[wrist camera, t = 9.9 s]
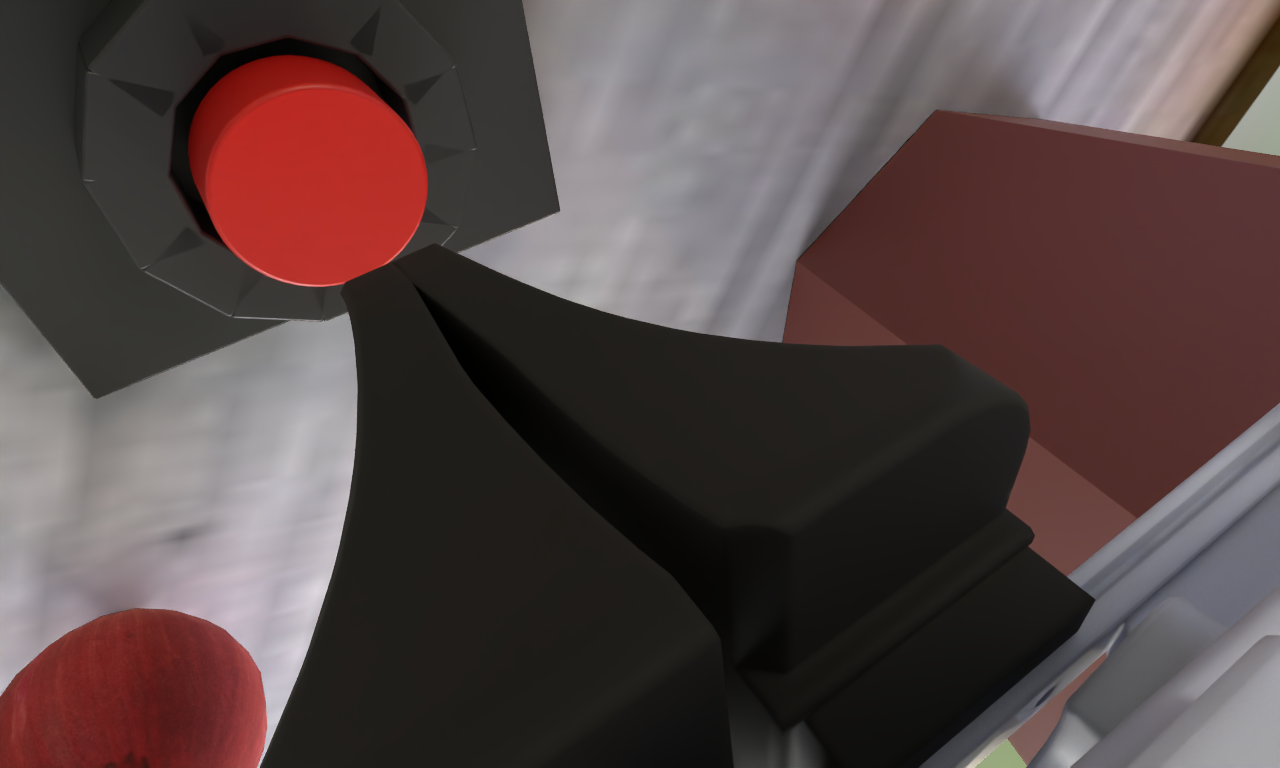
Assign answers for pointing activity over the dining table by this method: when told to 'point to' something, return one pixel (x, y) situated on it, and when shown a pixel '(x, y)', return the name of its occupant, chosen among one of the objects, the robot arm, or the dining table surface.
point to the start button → (306, 170)
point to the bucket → (1069, 306)
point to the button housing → (161, 176)
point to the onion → (136, 698)
